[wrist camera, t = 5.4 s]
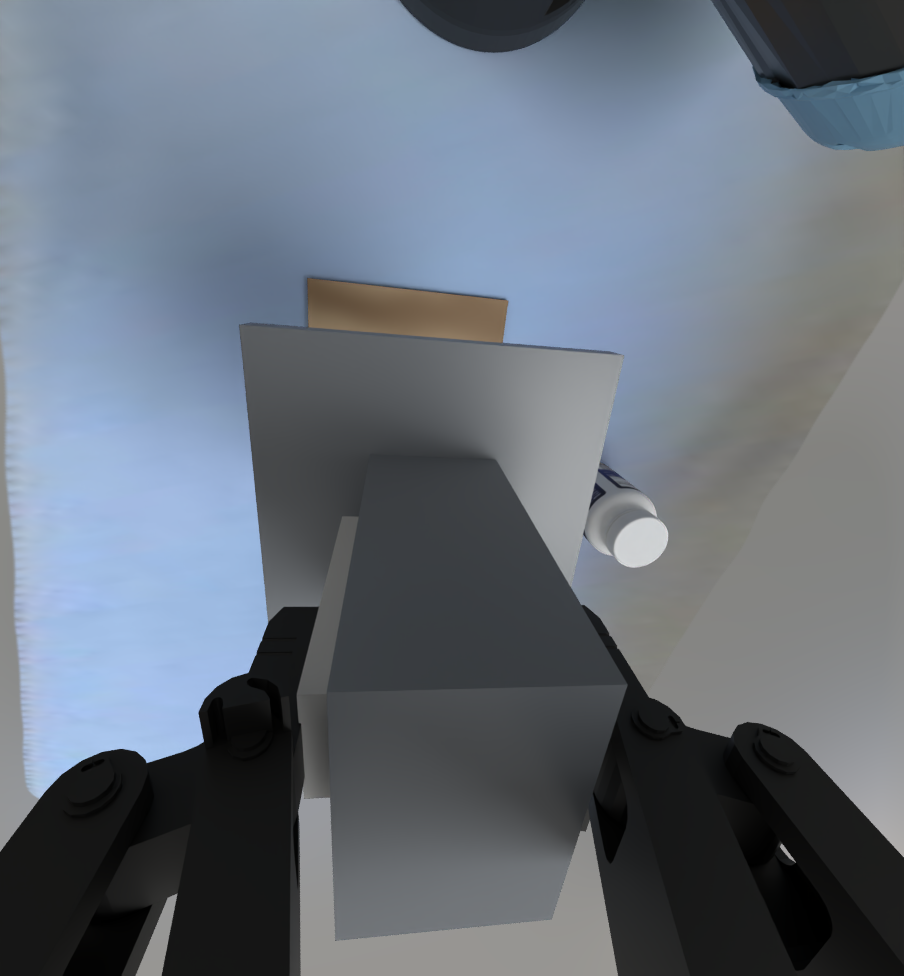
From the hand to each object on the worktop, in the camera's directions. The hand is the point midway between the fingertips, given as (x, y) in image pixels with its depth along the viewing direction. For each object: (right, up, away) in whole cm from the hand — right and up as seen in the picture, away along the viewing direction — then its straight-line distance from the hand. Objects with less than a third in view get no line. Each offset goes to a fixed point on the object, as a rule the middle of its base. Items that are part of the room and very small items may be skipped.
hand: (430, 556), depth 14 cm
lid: (0, +1, +2) cm, 2 cm away
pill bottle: (+12, +2, +25) cm, 28 cm away
